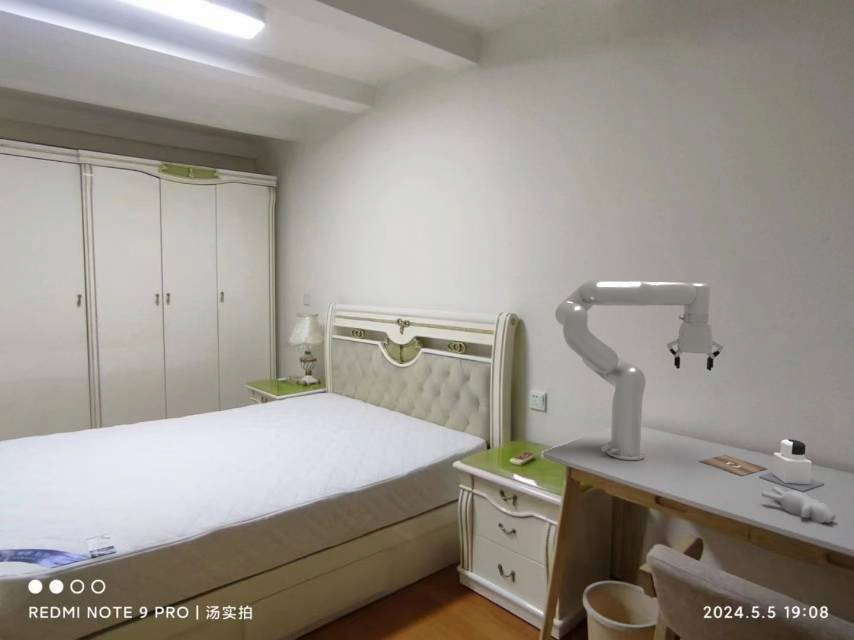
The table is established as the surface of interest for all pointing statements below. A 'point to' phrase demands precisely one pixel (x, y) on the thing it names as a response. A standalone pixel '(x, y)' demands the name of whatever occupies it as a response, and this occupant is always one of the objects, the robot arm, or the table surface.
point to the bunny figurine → (802, 505)
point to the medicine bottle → (792, 463)
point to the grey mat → (793, 486)
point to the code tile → (733, 465)
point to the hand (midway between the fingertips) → (693, 368)
